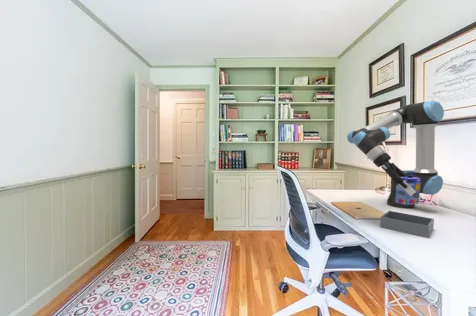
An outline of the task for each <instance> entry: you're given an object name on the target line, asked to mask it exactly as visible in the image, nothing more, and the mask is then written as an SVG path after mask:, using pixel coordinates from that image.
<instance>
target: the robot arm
mask: <svg viewBox="0 0 476 316" xmlns="http://www.w3.org/2000/svg"><path fill="white" fill-rule="evenodd" d="M444 116H445V111H444V107H443V106H442V104H441V103H440V102H438V101H436V100H430V101H429V100H428V101H422V102H421V101H420V102H416V103H410V104H409V103H408V104H406V105H403V106H401V107H399V108H397V109H394V110H392V111H390V112H389V113H388V114H387V115H386V116H384V117H382V118H380V119H378V120H376V121H374V122H373V123H370V124H368V125H366V126H364V127H362V128H360V129H357V130H352V131H350V132H349V133H348V134H347V135H346V137H347V142H348V143H350V144H354V145H355V147H356V148H357V149H359V150H360V151H361V152H362V153H363V154H364V155H365V156H366V157H367V160H370V161H372V163H373V164H374V165H375V166H376V167H377V168H380V167H381V169H382V170H383V171H384V172H385V173H386V174H387V175H388V176H389V177H390V192H389V195H388V197H387V200H386V204H387V205H388V206H391V207H396V208H400V209H401V208H402V209H414V208H415V207H416V204H410V205H404V204H400V203H397V202H395V197H396V185H398V184H399V185H400V186H401V187H402V188H403V189H404V190H405V191H406V192H407V193H408V194H409V195H410V196H411V195H412V194H414V193H415V192H416V191H415V190H414V189H413V188H412V187H411V186H409V185H408V184H407V183H406V182H405V181H403V180H402V178H401V177H408V175H409V174H410V173H415V174H414V176H413V177H417V178H421V185H420V194H424V195H430V196H431V195H432V196H434V195H436V194H438V193H439V192H440V191H441V190H442V187H443V185H444V180H443V177H442V176H441V175H438V174H439V173H438V171H437V169H435V149H436V148H435V146H436V145H435V142H436V141H435V140H436V138H435V135H436V134H435V133H436V131H435V130H436V129H435V128H436V127H437V126H438V125H439V122H441V121H442V120H443V118H444ZM406 124H412V127H413V128H414V129H415V168H414V169H413V170H412V169H411V170H408V169H407V170H402V169H400V168H399V167H398V166H397V165H396V164H395V163H394V162H391V161H390V160H391V158H392V157H391V156H390V155H389V154H388V153H387V152H385V150H384V149H383V148H382V147H381V146H380V145H379V144H382V143H384V142H386V141H387V140H389V138H390V137H391V132H390V131H391V130H389V129H391V128H393V127H399V126H400V125H406ZM411 175H413V174H411Z"/></svg>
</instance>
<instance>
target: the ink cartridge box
mask: <svg viewBox="0 0 476 316" xmlns="http://www.w3.org/2000/svg"><path fill="white" fill-rule="evenodd" d="M411 174H413V175H411ZM414 174H415V173H410V174H409V175H408V177H401V178H402V180H403V181H405V182H406V183H407V184H408V185H409V186H411V187H412V188H413V189H414V190H415V191H416V192H415V193H414V194H412V195H411V196H410V195H409V194H408V193H407V192H406V191H405V190H404V189H403V188H402V187H401V186H400V185H399V184H398V185H396V197H395V202H397V203H400V204H404V205H410V204H415V205H416V204H417V205H418V204H420V196H421V193H420V185H421V178H417V177H413V176H414Z"/></svg>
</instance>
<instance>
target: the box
mask: <svg viewBox="0 0 476 316" xmlns="http://www.w3.org/2000/svg"><path fill="white" fill-rule="evenodd" d="M379 223H380V224H379V225H380V226H379V227H380V228H383V229H388V230H391V231H395V232H396V231H397V232H401V233H405V234H409V235H414V236H418V237H423V238H426V237H427V239H429V238H430V236H431V235H432V233H433V231H434V224H435V219H434V218H431V217H426V216H421V215H414V214H409V213H405V212H404V213H403V212H397V211H392V210H388V211H386V212H385V213H384V214H382V215H381V216H380V222H379Z"/></svg>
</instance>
